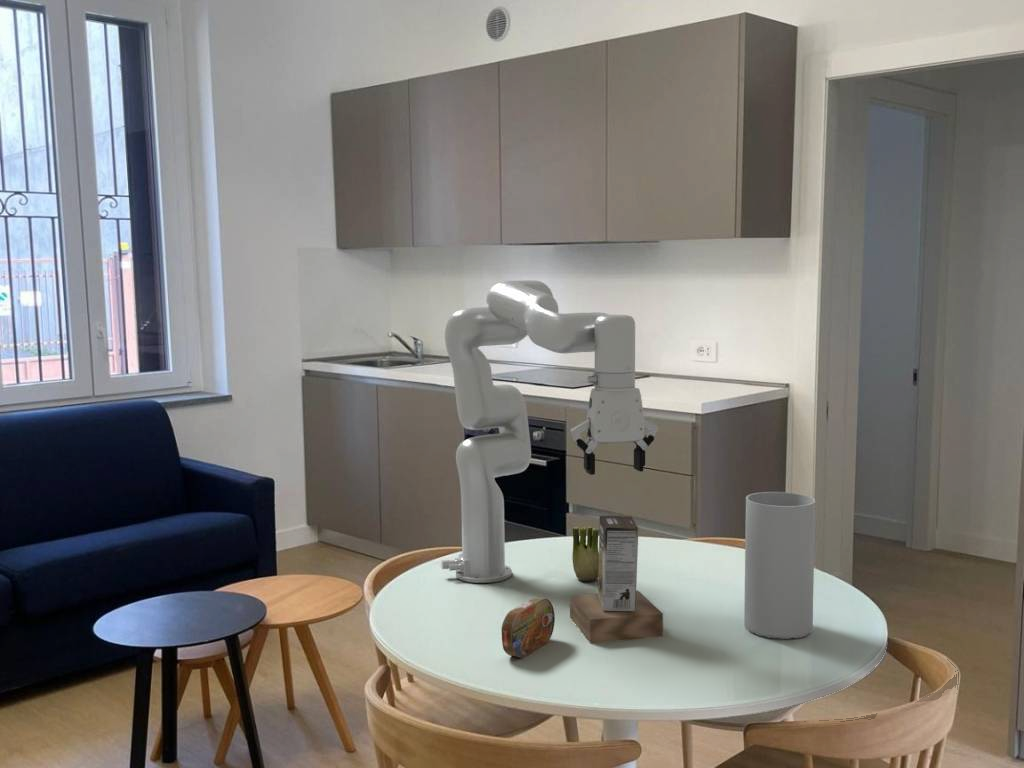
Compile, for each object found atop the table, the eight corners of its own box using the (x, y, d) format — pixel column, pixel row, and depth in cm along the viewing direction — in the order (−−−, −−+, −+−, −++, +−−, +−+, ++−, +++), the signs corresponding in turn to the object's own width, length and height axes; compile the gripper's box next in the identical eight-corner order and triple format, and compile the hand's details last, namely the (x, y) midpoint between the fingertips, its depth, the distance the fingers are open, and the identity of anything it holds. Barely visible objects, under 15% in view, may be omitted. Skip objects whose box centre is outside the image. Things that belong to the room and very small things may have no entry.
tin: (513, 664, 176) (513, 617, 175) (498, 661, 178) (497, 614, 177) (556, 637, 189) (556, 593, 188) (541, 634, 191) (541, 591, 190)
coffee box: (596, 596, 198) (598, 514, 196) (629, 596, 198) (632, 515, 196) (601, 611, 189) (604, 526, 187) (636, 611, 189) (639, 527, 187)
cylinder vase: (730, 623, 195) (732, 495, 193) (783, 614, 200) (786, 489, 198) (771, 644, 184) (774, 509, 181) (826, 634, 189) (829, 502, 186)
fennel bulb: (569, 579, 225) (569, 526, 223) (585, 574, 228) (585, 522, 227) (589, 585, 220) (588, 531, 219) (604, 580, 224) (604, 527, 222)
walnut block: (590, 646, 186) (590, 619, 185) (570, 620, 200) (569, 596, 199) (662, 639, 189) (662, 613, 188) (638, 614, 202) (638, 590, 202)
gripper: (577, 385, 183) (577, 478, 185) (666, 381, 188) (665, 472, 190) (564, 381, 190) (564, 471, 192) (649, 377, 195) (649, 465, 197)
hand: (614, 471), depth 191 cm, fingers open, 9 cm apart
